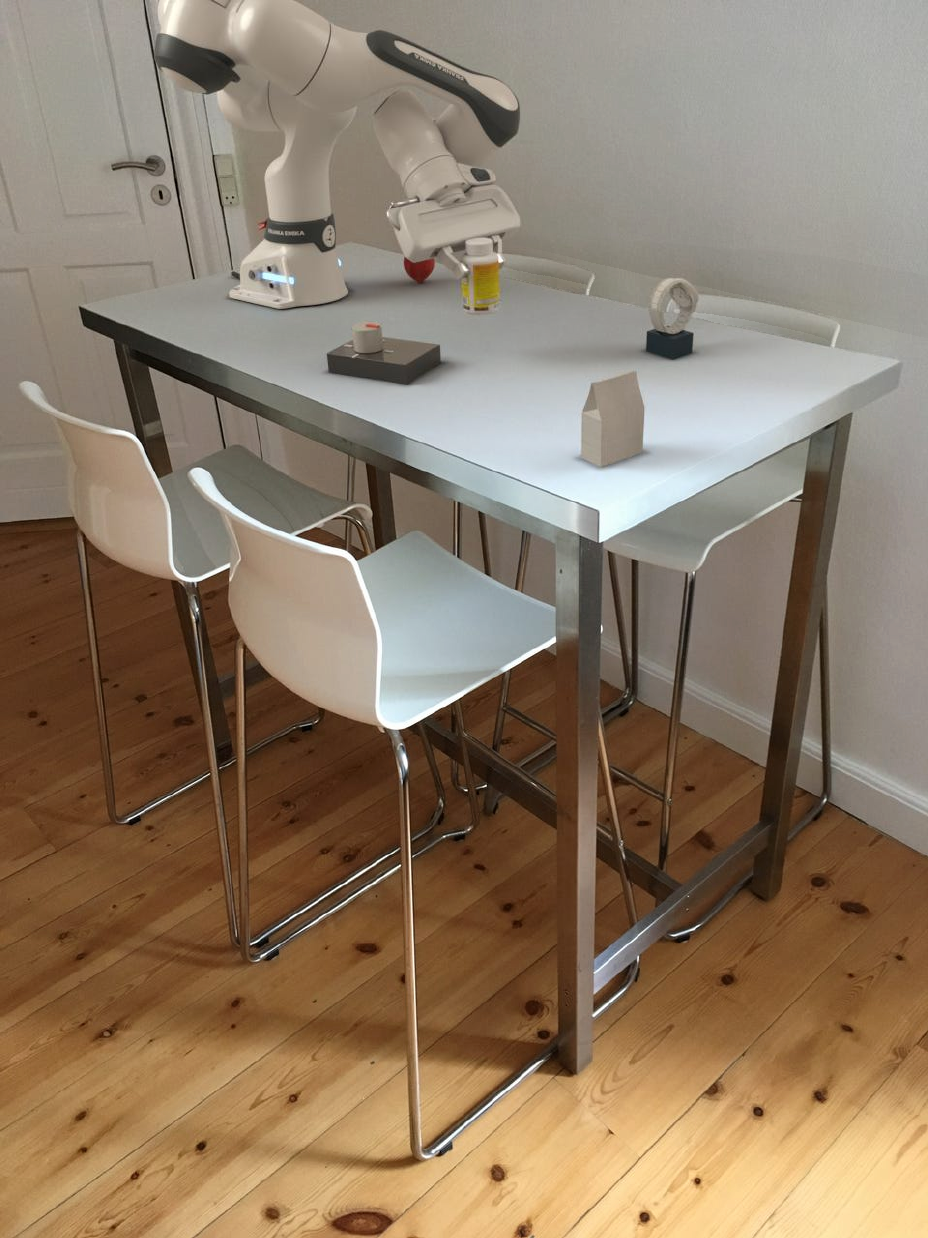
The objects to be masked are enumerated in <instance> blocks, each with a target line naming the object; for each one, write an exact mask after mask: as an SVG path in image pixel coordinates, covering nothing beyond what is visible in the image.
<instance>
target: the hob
mask: <svg viewBox="0 0 928 1238" xmlns="http://www.w3.org/2000/svg"><path fill="white" fill-rule="evenodd" d="M382 339H383V349H382V350H381V351H378V352H375V353H358V352H356V351H354V344H353V339H351V340H349V341H347V342H345V343H343V344H342V345H339V346H338V347H336V348H334V349H331V350H330V351H328V352H327V353H326V362H327V370H328V371H327V372H328V373H330V374H336V375H343V376H349V377H356V378H363V379H370V380H375V381H382V382H387V383H388V382H389V383H394V384H400V385H401V384H402V385H410V383H412V382H414V381H415V380H416V379H417V380H418V378H420V377H422V376H423V375H425V374H427V373H429V372H430V371H432V370H433V369H435V368H436V367H438V366H439V365H441V364H442V359H441V344H438V343H431V342H424V341H415V340H409V339H401V338H393V337H385V336H382Z"/></svg>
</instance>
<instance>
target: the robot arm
mask: <svg viewBox="0 0 928 1238" xmlns="http://www.w3.org/2000/svg"><path fill="white" fill-rule="evenodd" d="M157 18H158V23H159V26H160V31H159V32H158V33H157V34H156V38H155V44H154V48H153V49H154V50H153V59H154V61H155V64H156V67H158V69H159V70H160V71H161V72H162V73H163V75H165V76H166V77H167V78H168V79H169V80H170V81H171V82H172V83H173V84H174V85H176V86H177V87H179V88H181V89H182V90H185V91H187V92H189V93H190V92H191V93H195V94H202V95H206V96H207V95H211V94H214V93H216V101H217V105H218V107H219V110H220V113H221V114H222V117H223V118H224V119H225V120H226V121H227V122H228V124H230V125H232V126H234V127H237V128H240V129H244V130H247V131H251V132H256V133H284V136H285V137H284V138H285V139H284V147H283V148H284V149H283V151H282V153H281V155H279V156H278V157H277V158H275V159H274V160H273V161H271V162H270V164H269V165H268V166H267V168H266V170H265V173H264V177H263V179H264V186H265V187H264V188H265V194H266V201H267V202H266V203H267V208H268V217H267V218H266V219H265V220H264V221H261V222H258V223H257V225H258V226H259V227H258V229H257V230H259V231H261V230H263V229H264V233H263V240H262V241H261V242H260V243H258V245H256V247H255V248H254V249H253V250H251V252H250V253H248V255H246V256H245V257H244V258H243V260H242V261H241V263H240V267H239V268H240V269H239V273H238V272H237V271H231V272H230V273H231V274H230V275H231V276H232V277H235V278H236V279H238V280H239V282H240V283H239V284H238V285H236V286H233V288H231V289H230V290H229V293H228V295H229V299H234V300H238V301H243V302H247V303H250V304H251V303H252V304H255V305H261V306H265V307H269V308H273V309H277V310H284V309H290V308H295V307H305V306H306V307H307V306H315V305H322V304H328V303H331V302H334V301H338V300H340V299H342V298H344V297H346V296H347V295H348V294H349V290H348V288H347V285H346V282H345V279H344V276H343V272H342V269H341V266H342V261H341V260H340V259H339V256H338V251H337V246H336V243H337V231H336V221H335V214H334V213H333V212H332V207H331V195H330V176H329V175H330V173H329V172H330V162H331V157H332V153H333V150H334V147H335V144H336V143H337V140H338V139H339V137H340V135H341V134H342V133H343V132H344V131H345V129H347V128H348V127H349V126H350V125H351V123H352V121H353V120H354V118H355V116H356V113H357V111H358V110H357V109H358V106H359V105H361V104H362V103H364V102H365V101H367V100H369V99H370V98H373V97H374V96H376V95H379V94H380V93H382V92H384V91H387V90H389V89H392V88H396V87H401V86H408V87H409V86H410V87H414V88H417V89H419V90H420V91H423V92H425V93H427V94H430V95H432V96H434V97H436V98H438V99H440V100H443V101H444V102H447V103H449V105H448V106H447V107H446V108H445V109H444V110H443V112H442V113H441V114H440V115H439V116H438V118H434V117H432V116H431V115H430V112H429V111H428V110H427V109H426V107H425V106H424V104H423V103H422V102H421V101H420V99H419V98H418V96H417V95H416V94H415V93H414V92H413V91H412V90H411V89H409V88H408V89H407V88H406V89H405V88H404V89H401V90H397V91H395V92H393V93H391V94H390V95H389V96H387V97H386V98H385V99H384V101H382V103H381V104H379V106H378V108H377V109H376V110H375V112H374V113H373V115H372V118H371V119H372V120H371V123H372V128H373V131H374V134H375V138H376V139H377V142H378V144H379V148H380V150H381V151H382V152H383V155H384V157H385V159H386V161H387V163H388V165H389V166H390V168H391V169H392V171H393V172H394V173H396V175H397V176H398V177H399V179H400V182H401V187H402V190H403V192H404V194H405V195H406V198H405V199H401V200H394V201H391V202H390V204H389V206H388V207H387V208H386V218H387V219H388V221H389V223H390V224H391V226H392V227H393V230H394V233H395V236H396V239H397V242H398V245H399V247H400V249H401V251H402V253H403V255H404V257H406V258H407V259H408V260H410V261H411V262H413V263H416V262H420V261H424V260H428V259H432V258H434V259H435V258H437V259H438V261H439V263H440V264H441V265H442V266H444V267H446V268H447V269H448V270H450V271H451V272H452V273H453V275H454V277H455V278H456V280H457V281H459V280H462V279H463V278H466V277H467V275H469V273H470V271H469V268H468V267H467V265H466V263H465V262H461V260H459V259H458V258H456V257H455V256H454V255H453V254H456V253H460V252H461V253H462V252H466V249H465V248H466V241H467V240H469V239H473V238H489V239H492V241H493V251H492V252H495V253H496V254H497V255H498V259H499V270H502V269H503V268H504V267H505V266H506V264H507V260H506V258H505V257H504V254H503V242H507V241H510V240H513V238H514V237H515V235H517V233H518V232H519V230H520V228H521V224H522V222H521V221H522V220H521V217H520V214H519V213H518V211H517V209H516V207H515V205H514V204H513V202H512V201H511V198H510V197H509V196H508V194H507V193H506V192H505V190H504V189H503V188H502V187H500V186H499V185H497V184H495V182H496V180H497V178H496V174H495V173H494V172H493V170H491V169H489V168H485V167H483V166H484V165H485V164H486V163H487V162H488V161H489V159H491V158H492V156H493V155H494V154H495V153H496V152H497V151H498V150H499V149H501V148H503V147H504V146H505V145H506V144H508V142H510V141H511V140H512V139H513V138H514V137H516V136H517V134H518V133H519V129H520V124H521V123H520V122H521V106H520V101H519V98H518V97H517V95H516V94H515V92H514V91H513V90H512V89H511V88H510V86H508V85H507V84H506V83H505V82H503V81H502V80H501V79H499V78H497V77H494V76H492V75H488V74H485V73H481V72H479V71H478V72H477V71H474V70H472V69H469V68H467V67H465V66H463V65H461V64H459V63H456V62H455V61H452V60H451V59H449V58H446V57H444V56H442V55H440V54H438V53H436V52H434V51H432V50H430V49H427V48H426V47H423V46H421V45H420V44H418V43H416V42H413V41H411V40H409V39H406V38H404V37H402V36H400V35H397V34H395V33H392V32H389V31H387V30H381V29H378V30H374V31H370V32H360V31H354V30H350V29H346V28H343V27H340V26H337V25H335V24H334V23H332V22H331V21H329V20H327V19H326V18H324V17H323V16H322V15H320V14H318V13H317V12H316V11H314V10H312V9H310V8H308V7H307V6H305V5H303V4H302V3H300V2H298V1H296V0H159V1H158V7H157ZM260 225H261V226H260Z"/></svg>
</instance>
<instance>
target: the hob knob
mask: <svg viewBox="0 0 928 1238" xmlns="http://www.w3.org/2000/svg"><path fill="white" fill-rule="evenodd" d="M351 331H352V332H351V333H352V340H353V344H354V351H356V352H358V353H375V352H378V351H381V350H382V349H383V339H382V337H383V332H382V331H383V328H382V324H381V323H380V322H376V321H361V322H357V323H355V324H353V325H352V326H351Z"/></svg>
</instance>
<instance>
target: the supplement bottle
mask: <svg viewBox="0 0 928 1238" xmlns="http://www.w3.org/2000/svg"><path fill="white" fill-rule="evenodd" d="M465 249H466V250H465V253H463V254H462V255H461V257H460V263H461V262H465V263H466V265H467V267H468V268H469V271H470V273H469V275H467V277H466V278H463V279H461V292H462V294H461V295H462V308H463V309H462V310H463V311H464V312H465V313H467V314H469V315H474V316H487V315H492V314H494V313H497V312H498V311H499V310H500V307H501V297H500V296H501V295H500V292H501V291H500V269H499V259H498V255H497V254H496V253H495V252H492V251H493V241H492V239H489V238H473V239H469V240H467V241H466V248H465Z"/></svg>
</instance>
